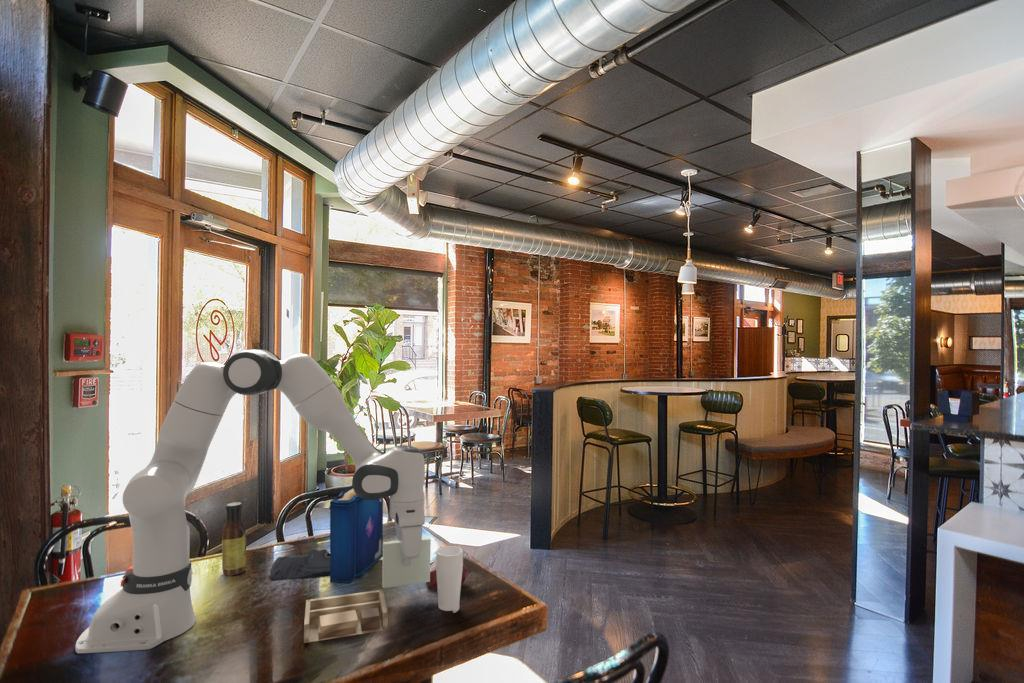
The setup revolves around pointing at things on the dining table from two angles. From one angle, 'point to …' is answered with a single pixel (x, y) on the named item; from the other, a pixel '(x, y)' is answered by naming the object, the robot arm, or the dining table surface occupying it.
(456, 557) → the drinking glass
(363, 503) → the book
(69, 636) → the dining table surface
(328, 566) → the dark slate chunk
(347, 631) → the offcut low
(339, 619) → the offcut top
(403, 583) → the sheet
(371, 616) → the offcut small
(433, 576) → the heart
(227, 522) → the sauce bottle
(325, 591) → the dining table surface
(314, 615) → the rack
